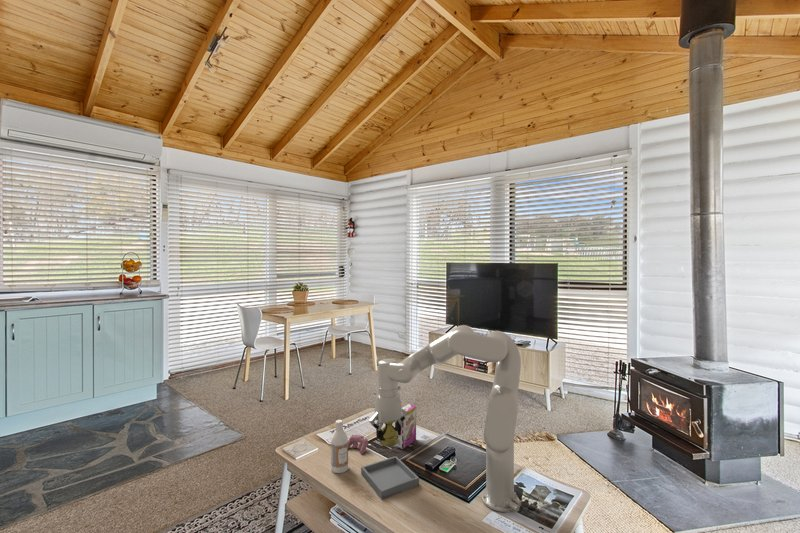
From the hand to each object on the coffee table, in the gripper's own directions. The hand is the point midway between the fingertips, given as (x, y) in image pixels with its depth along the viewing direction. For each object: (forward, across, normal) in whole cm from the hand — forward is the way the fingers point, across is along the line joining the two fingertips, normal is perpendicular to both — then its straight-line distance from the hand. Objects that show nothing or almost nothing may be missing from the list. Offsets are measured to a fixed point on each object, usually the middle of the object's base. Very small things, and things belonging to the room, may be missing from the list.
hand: (388, 436), depth 145 cm
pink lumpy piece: (+18, +2, -28) cm, 33 cm away
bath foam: (+17, +14, -17) cm, 28 cm away
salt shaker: (+3, 0, 0) cm, 3 cm away
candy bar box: (+17, -20, -21) cm, 34 cm away
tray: (+17, 0, 0) cm, 17 cm away
